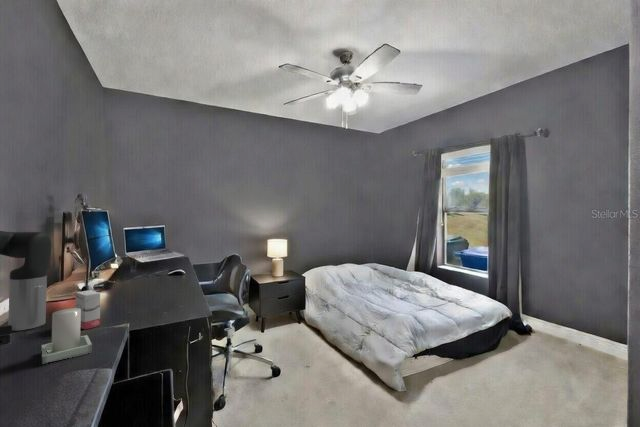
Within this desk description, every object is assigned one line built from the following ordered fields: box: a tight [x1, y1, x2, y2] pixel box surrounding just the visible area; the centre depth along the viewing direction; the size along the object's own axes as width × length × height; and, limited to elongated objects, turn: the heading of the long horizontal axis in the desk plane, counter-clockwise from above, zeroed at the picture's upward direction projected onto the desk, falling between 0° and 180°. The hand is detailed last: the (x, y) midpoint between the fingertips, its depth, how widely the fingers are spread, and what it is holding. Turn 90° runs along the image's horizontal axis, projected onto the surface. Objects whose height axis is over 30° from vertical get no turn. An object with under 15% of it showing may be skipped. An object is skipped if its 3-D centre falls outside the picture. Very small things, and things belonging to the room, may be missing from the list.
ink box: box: [74, 289, 101, 330], centre depth 101 cm, size 9×5×12 cm, turn 58°
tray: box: [41, 334, 93, 365], centre depth 80 cm, size 10×10×2 cm
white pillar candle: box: [51, 307, 81, 354], centre depth 80 cm, size 6×6×11 cm
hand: (11, 333), depth 73 cm, fingers open, 8 cm apart
